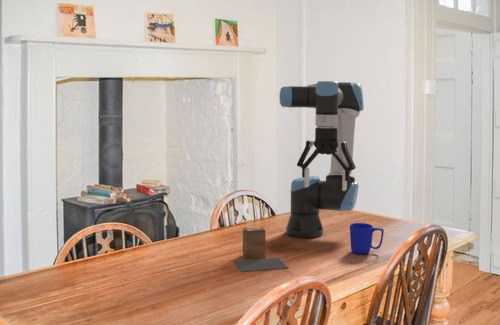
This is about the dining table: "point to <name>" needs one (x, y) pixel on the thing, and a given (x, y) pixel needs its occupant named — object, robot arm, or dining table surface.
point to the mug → (363, 237)
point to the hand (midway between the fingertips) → (325, 188)
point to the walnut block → (253, 243)
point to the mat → (260, 264)
